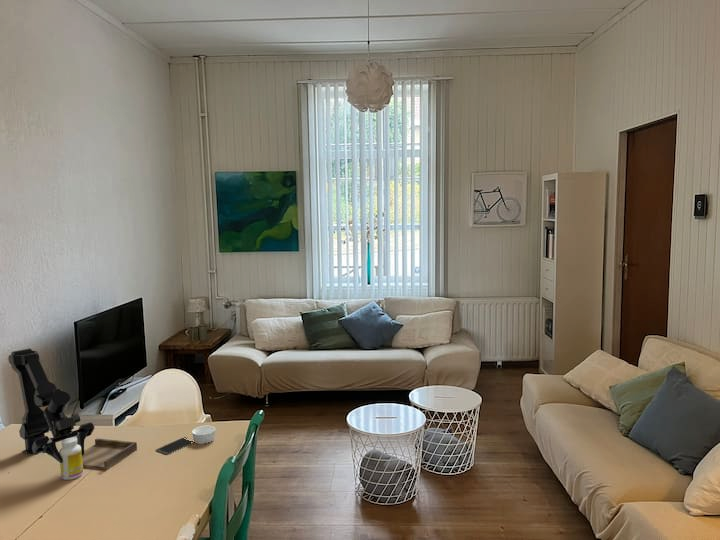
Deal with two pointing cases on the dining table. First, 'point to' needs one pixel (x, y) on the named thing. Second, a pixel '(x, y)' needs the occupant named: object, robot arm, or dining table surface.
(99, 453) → the dock board
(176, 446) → the cell phone
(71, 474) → the supplement bottle
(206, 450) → the dining table surface
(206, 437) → the ramekin
